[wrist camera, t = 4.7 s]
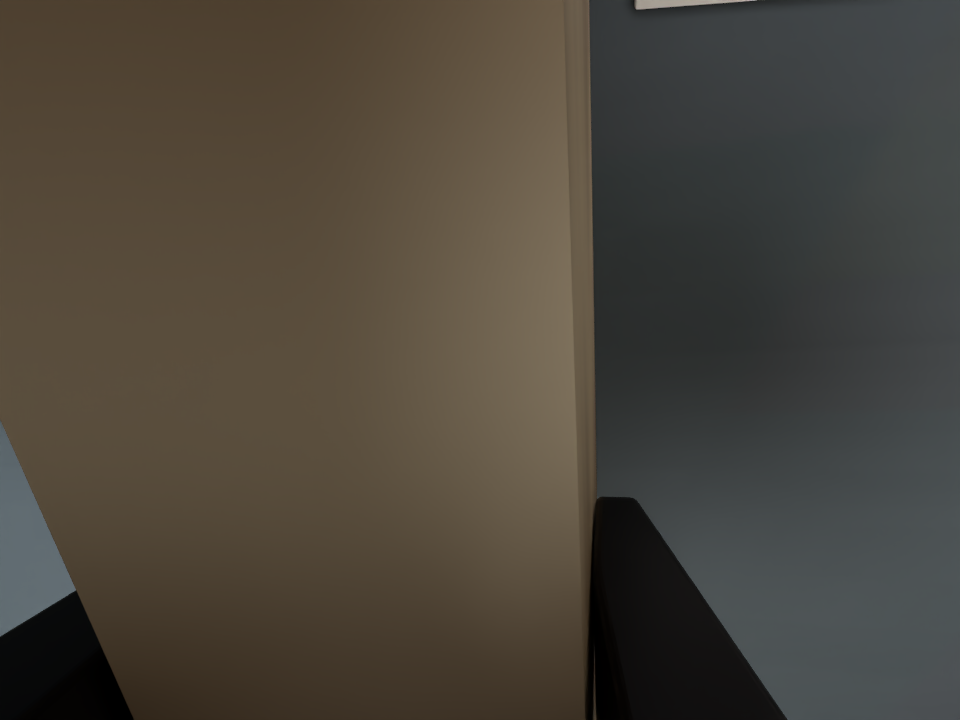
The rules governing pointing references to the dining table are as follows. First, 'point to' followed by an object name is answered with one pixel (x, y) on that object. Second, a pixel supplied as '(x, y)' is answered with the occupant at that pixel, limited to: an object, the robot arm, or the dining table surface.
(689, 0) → the notched cream block
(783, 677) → the dining table surface
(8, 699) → the robot arm
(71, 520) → the rail
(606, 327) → the dining table surface
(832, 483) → the dining table surface
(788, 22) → the dining table surface
